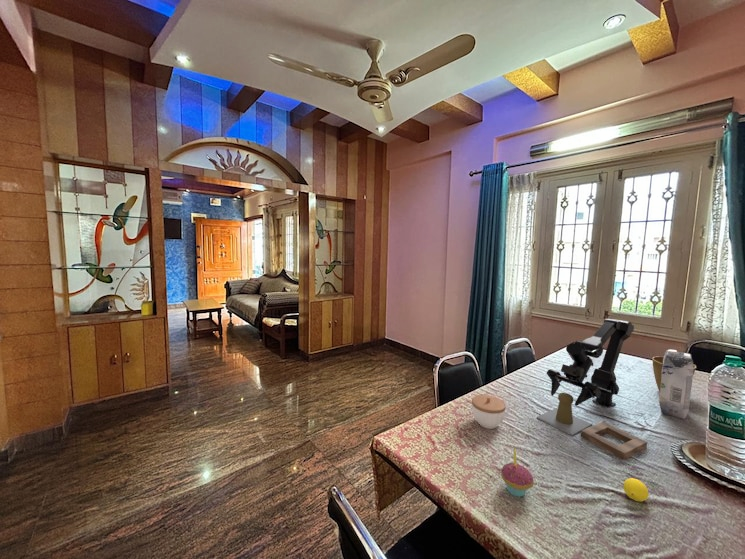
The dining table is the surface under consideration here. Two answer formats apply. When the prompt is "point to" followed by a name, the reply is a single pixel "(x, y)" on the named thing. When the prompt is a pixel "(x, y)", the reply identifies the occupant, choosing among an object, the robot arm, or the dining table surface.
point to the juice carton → (676, 383)
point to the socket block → (621, 451)
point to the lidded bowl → (488, 410)
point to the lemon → (635, 489)
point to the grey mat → (567, 428)
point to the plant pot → (660, 369)
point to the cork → (565, 409)
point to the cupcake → (516, 478)
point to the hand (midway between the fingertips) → (563, 400)
